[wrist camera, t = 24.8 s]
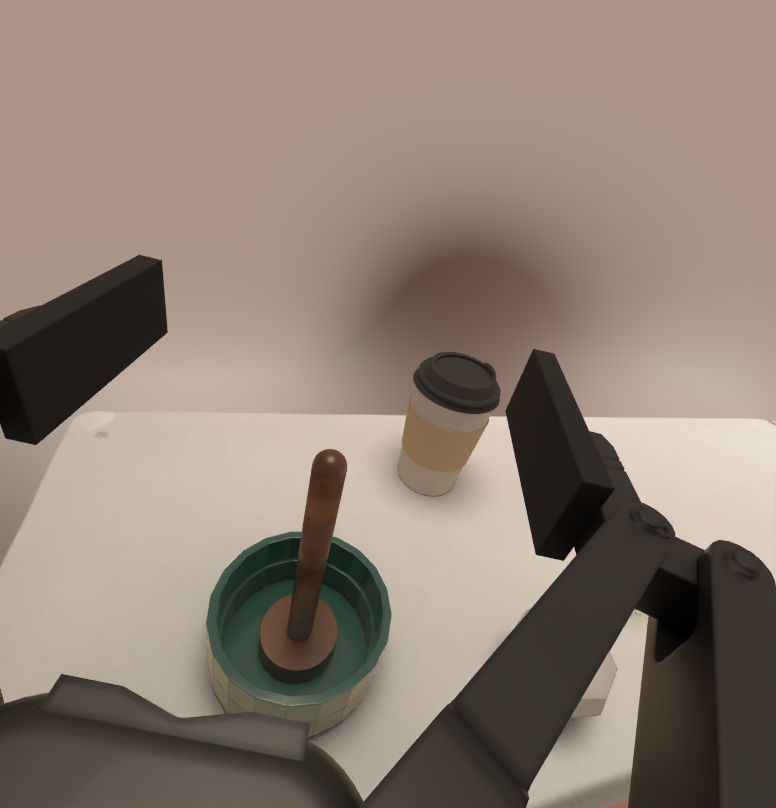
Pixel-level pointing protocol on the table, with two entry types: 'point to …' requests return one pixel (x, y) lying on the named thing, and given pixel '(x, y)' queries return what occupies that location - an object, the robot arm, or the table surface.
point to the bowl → (248, 603)
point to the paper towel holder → (307, 585)
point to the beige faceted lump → (595, 688)
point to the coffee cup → (445, 420)
